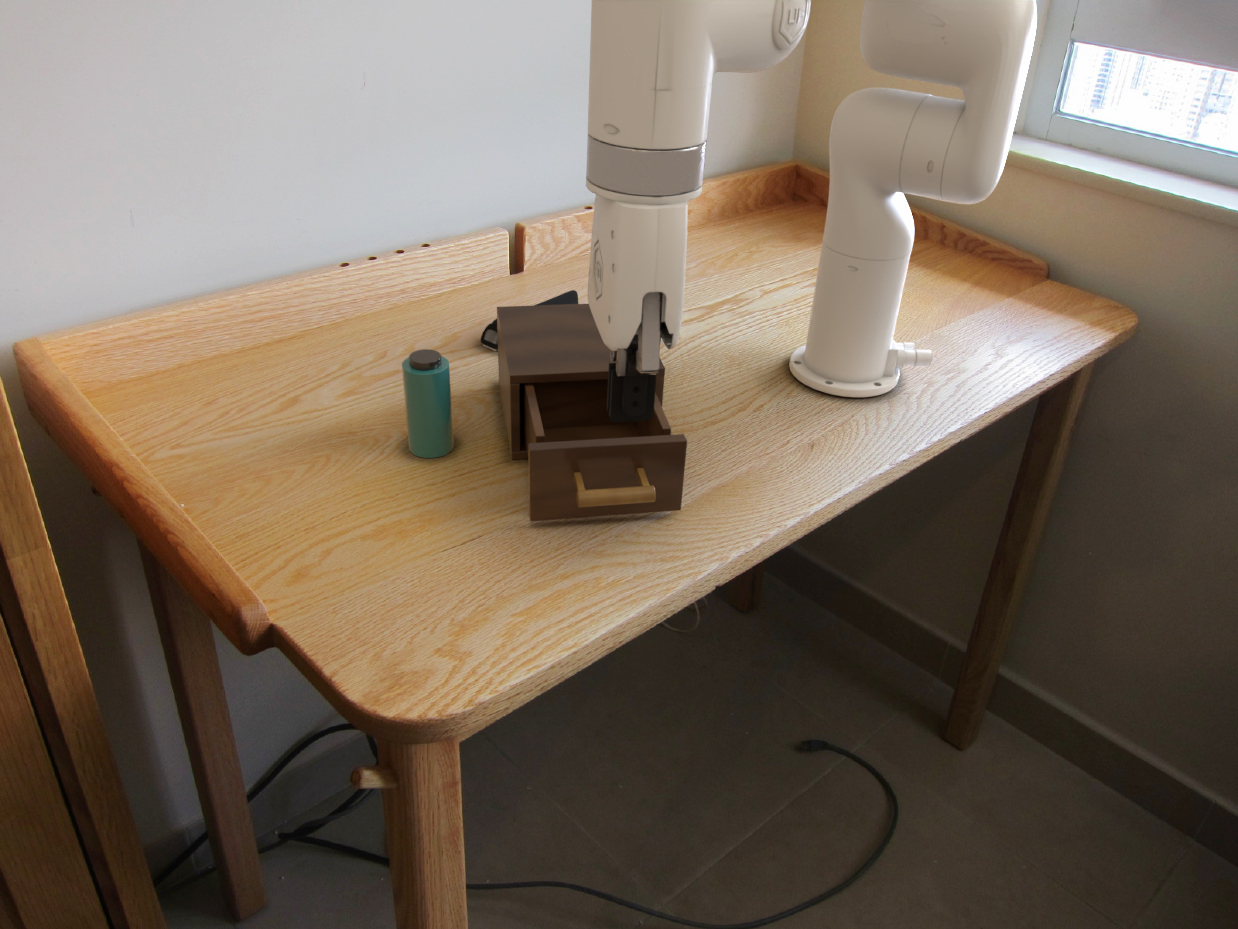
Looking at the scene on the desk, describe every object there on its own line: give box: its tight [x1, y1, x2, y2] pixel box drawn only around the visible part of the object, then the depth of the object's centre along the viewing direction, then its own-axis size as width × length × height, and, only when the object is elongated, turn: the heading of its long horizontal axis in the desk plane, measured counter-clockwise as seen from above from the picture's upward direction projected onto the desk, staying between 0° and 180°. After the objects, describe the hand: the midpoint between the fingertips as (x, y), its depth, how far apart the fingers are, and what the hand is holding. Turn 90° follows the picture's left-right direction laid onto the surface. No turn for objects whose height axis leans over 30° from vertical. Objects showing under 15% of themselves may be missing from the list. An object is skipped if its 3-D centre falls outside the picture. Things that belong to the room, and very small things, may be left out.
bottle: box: [401, 348, 455, 459], centre depth 95 cm, size 4×4×10 cm
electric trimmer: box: [480, 289, 579, 352], centre depth 121 cm, size 4×16×3 cm, turn 142°
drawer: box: [522, 379, 688, 522], centre depth 89 cm, size 19×14×7 cm
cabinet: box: [496, 303, 666, 460], centre depth 101 cm, size 16×15×9 cm
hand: (629, 415), depth 72 cm, fingers closed
